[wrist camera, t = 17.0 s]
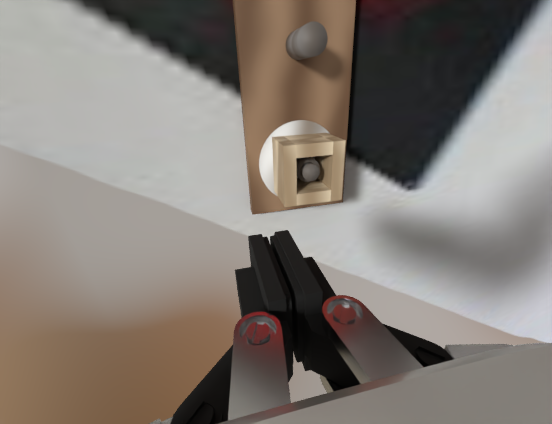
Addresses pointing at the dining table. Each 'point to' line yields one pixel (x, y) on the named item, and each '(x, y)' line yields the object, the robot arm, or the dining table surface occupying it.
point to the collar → (326, 154)
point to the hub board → (291, 82)
